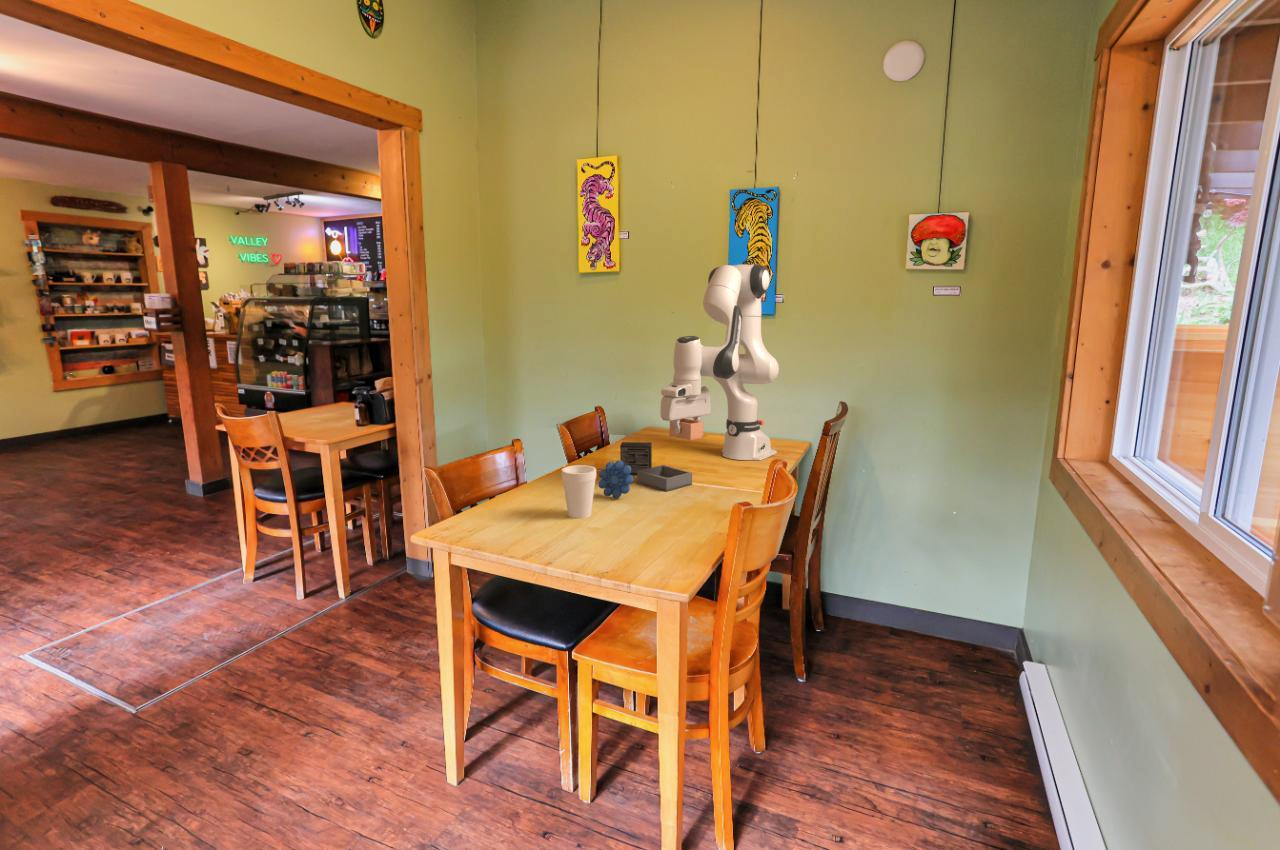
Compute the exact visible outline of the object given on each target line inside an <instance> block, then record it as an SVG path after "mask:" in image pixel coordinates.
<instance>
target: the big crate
mask: <svg viewBox="0 0 1280 850" xmlns="http://www.w3.org/2000/svg"><path fill="white" fill-rule="evenodd" d="M636 477H637V478H636V479H637V481H636V482H637V484H640V485H644V486H647V487H650V488H652V489H653V488H654V489H657V490H660V491H663V492H666V493H667V492H670V491H674V490H678V489H681V488H684V487H688V486H691V485H693V472H690V471H688V470H684V469H680V468H676V467H673V466H669V465H665V464H660V465H656V466H652V467H651V468H647V469H643V470H639V471H637V475H636Z"/></svg>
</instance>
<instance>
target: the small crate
mask: <svg viewBox="0 0 1280 850" xmlns="http://www.w3.org/2000/svg"><path fill="white" fill-rule="evenodd" d="M704 422H705V421H695V420H694V419H691V418H685V419H680V423H679V426H680V427H681V428H682V433H675V427H674V425H673V423H672V421H669V436H670V437H675V438H680V439H683V440H688V441H693V440H697V439H703V438H704V428H705V427H704Z"/></svg>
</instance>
